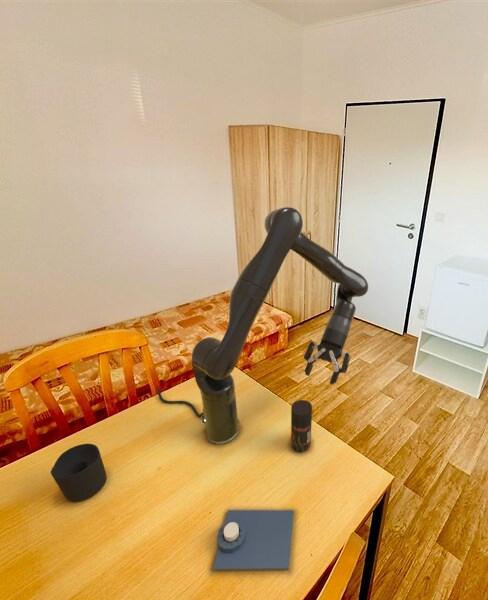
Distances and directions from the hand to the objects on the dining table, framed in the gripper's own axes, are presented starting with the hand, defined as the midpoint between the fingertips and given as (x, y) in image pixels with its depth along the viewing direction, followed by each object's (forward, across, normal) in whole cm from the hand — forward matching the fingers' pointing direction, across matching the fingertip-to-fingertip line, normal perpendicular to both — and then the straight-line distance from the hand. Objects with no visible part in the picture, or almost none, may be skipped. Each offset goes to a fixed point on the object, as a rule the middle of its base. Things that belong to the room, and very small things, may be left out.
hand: (319, 379), depth 98 cm
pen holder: (+46, +42, +21) cm, 66 cm away
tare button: (+39, +1, +18) cm, 43 cm away
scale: (+39, -4, +14) cm, 42 cm away
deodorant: (+20, 0, -5) cm, 20 cm away
